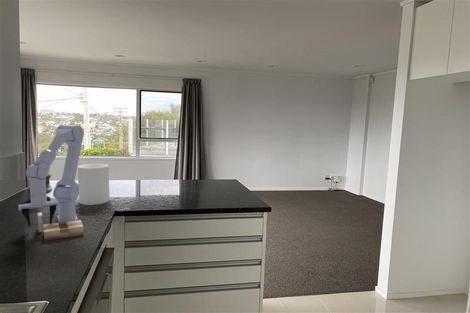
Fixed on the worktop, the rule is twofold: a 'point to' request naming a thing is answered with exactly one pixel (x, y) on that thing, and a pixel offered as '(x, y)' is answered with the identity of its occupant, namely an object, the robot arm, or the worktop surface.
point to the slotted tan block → (63, 229)
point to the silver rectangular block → (40, 222)
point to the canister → (93, 184)
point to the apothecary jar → (48, 187)
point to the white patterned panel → (122, 209)
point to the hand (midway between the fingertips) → (40, 224)
